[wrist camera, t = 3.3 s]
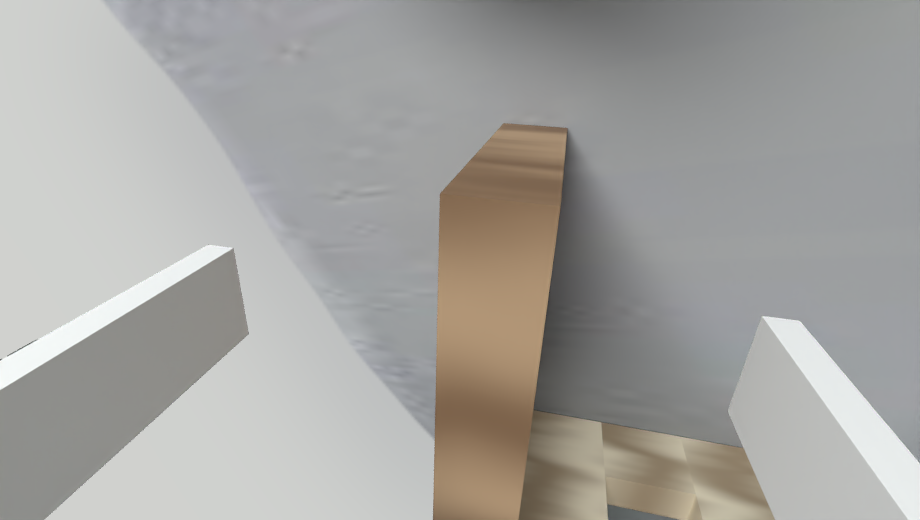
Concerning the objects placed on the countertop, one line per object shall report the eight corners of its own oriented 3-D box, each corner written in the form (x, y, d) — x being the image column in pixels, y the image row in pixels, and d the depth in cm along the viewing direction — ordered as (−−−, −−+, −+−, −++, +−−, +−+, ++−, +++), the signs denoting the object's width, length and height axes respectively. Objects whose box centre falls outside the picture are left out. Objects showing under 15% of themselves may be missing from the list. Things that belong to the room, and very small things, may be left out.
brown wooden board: (503, 123, 23) (440, 193, 12) (567, 128, 22) (560, 206, 11) (485, 361, 28) (432, 551, 18) (535, 370, 28) (511, 570, 17)
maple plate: (473, 423, 31) (442, 537, 24) (475, 399, 30) (443, 510, 23) (815, 488, 27) (901, 647, 20) (828, 463, 26) (922, 619, 19)
